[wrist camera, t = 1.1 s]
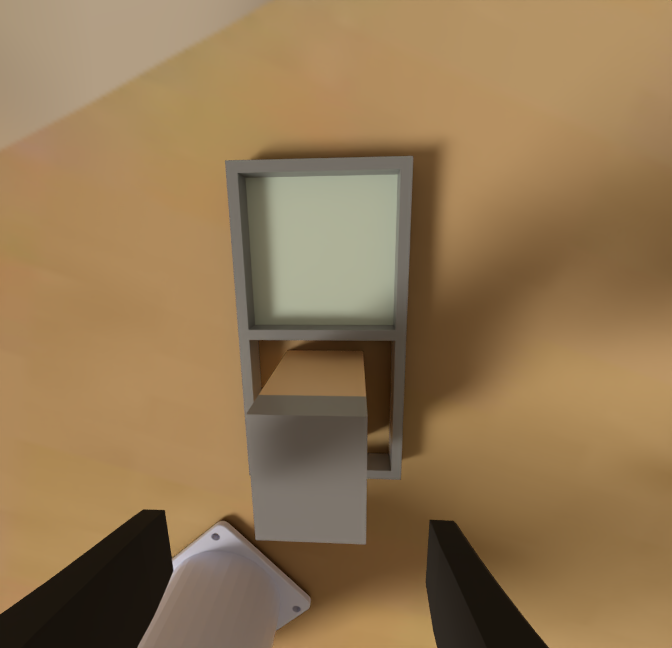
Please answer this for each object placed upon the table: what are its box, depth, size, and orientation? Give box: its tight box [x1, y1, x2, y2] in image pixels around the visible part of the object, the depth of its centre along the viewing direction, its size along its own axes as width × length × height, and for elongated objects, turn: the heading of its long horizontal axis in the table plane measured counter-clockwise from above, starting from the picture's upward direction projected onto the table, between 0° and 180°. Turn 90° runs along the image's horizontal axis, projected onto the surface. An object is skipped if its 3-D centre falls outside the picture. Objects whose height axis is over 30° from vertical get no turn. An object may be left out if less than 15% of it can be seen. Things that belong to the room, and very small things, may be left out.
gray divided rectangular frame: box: [225, 156, 413, 480], centre depth 17 cm, size 16×8×2 cm, turn 0°
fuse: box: [246, 350, 368, 544], centre depth 15 cm, size 5×4×7 cm
